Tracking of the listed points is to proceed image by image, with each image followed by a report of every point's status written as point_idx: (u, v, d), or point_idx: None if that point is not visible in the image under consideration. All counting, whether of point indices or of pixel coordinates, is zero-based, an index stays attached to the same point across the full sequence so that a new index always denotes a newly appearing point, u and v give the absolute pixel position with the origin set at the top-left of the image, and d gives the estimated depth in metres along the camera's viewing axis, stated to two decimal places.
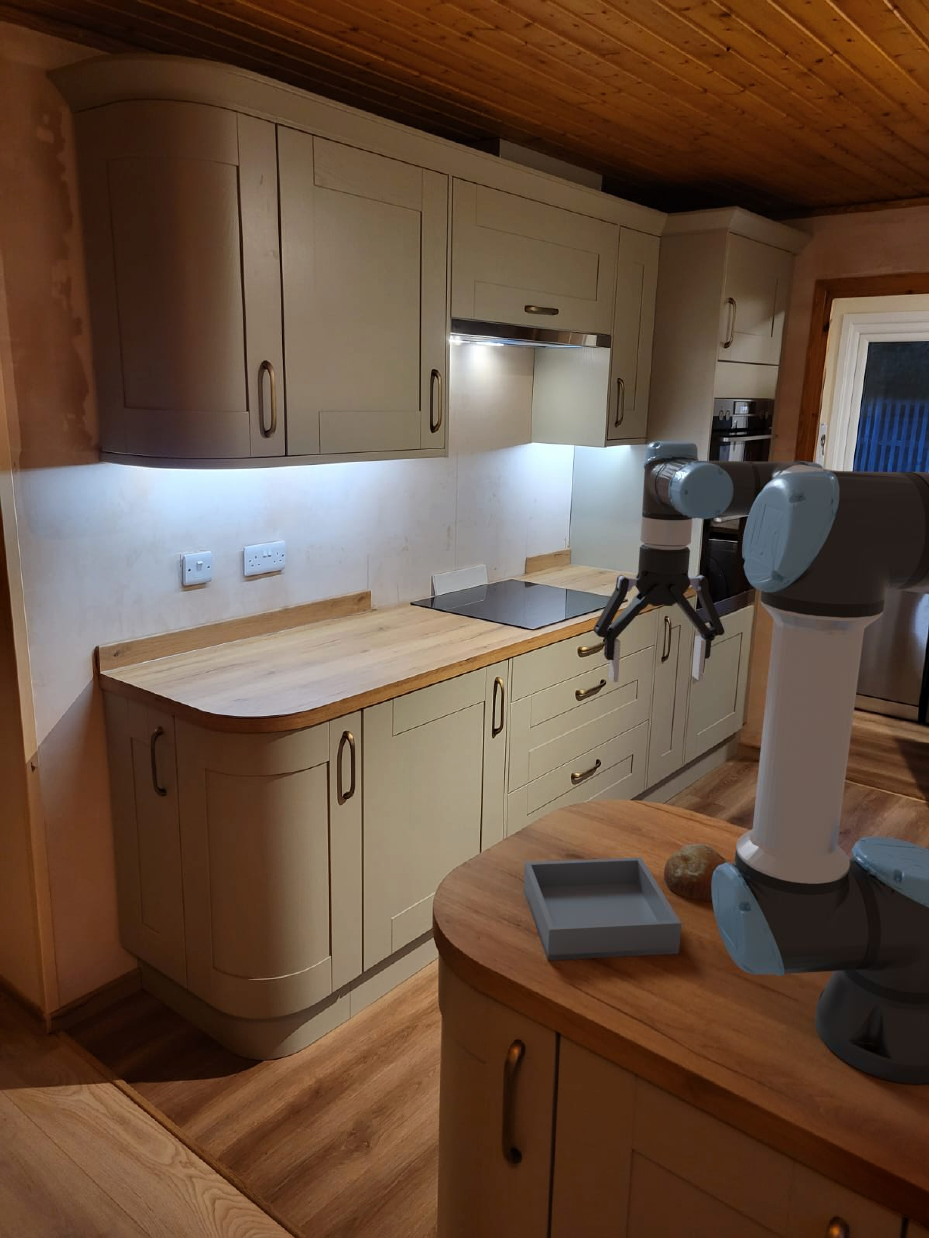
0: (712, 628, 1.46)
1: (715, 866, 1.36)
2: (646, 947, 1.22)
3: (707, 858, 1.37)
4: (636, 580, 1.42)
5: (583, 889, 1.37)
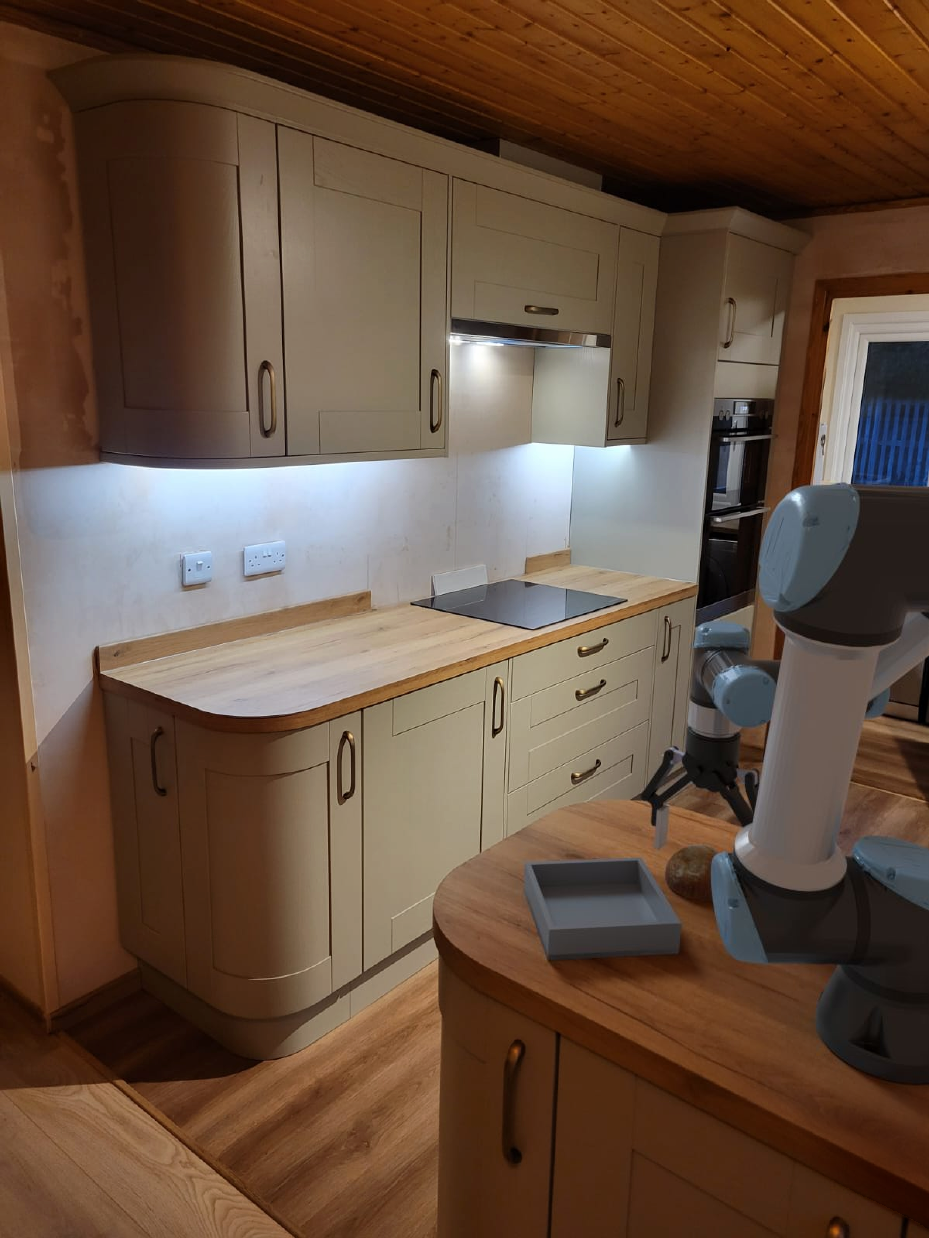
0: None
1: None
2: (646, 947, 1.22)
3: (708, 858, 1.37)
4: (682, 756, 1.38)
5: (583, 889, 1.37)
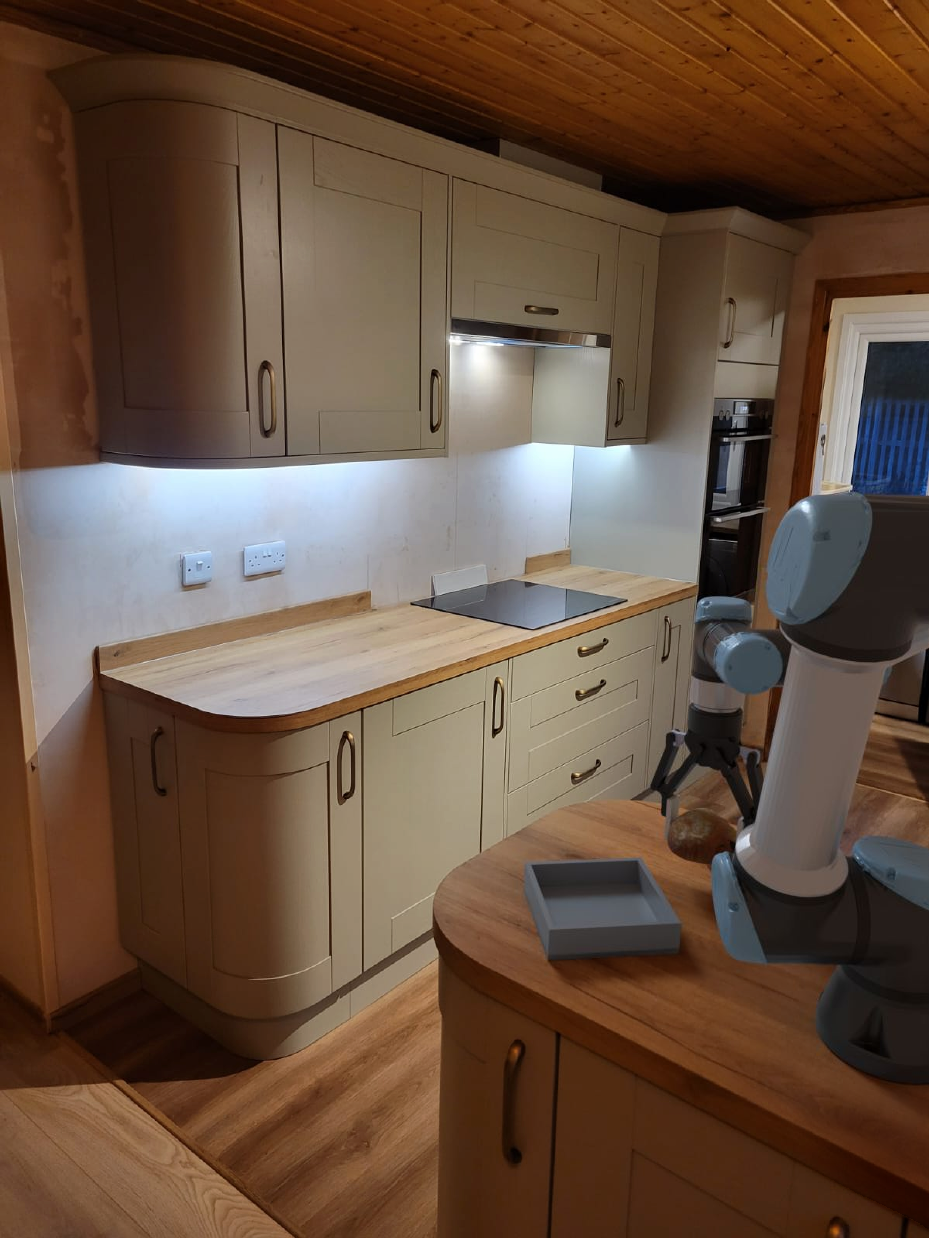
0: None
1: (719, 828, 1.34)
2: (646, 947, 1.22)
3: (711, 820, 1.35)
4: (683, 735, 1.37)
5: (583, 889, 1.37)
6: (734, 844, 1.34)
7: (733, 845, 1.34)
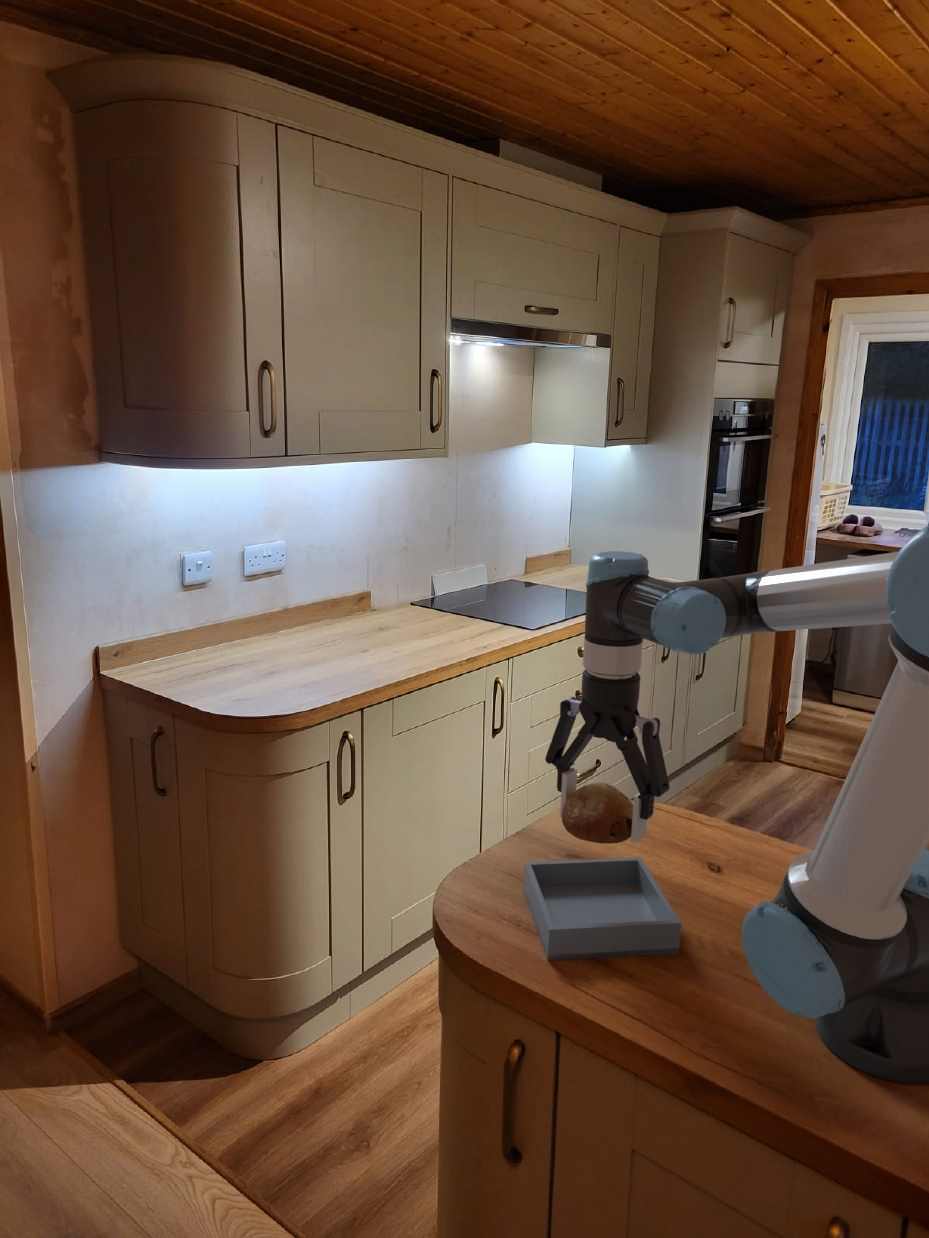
0: None
1: (615, 805, 1.23)
2: (646, 947, 1.22)
3: (607, 796, 1.24)
4: (579, 704, 1.25)
5: (583, 889, 1.37)
6: (631, 822, 1.23)
7: (630, 823, 1.23)
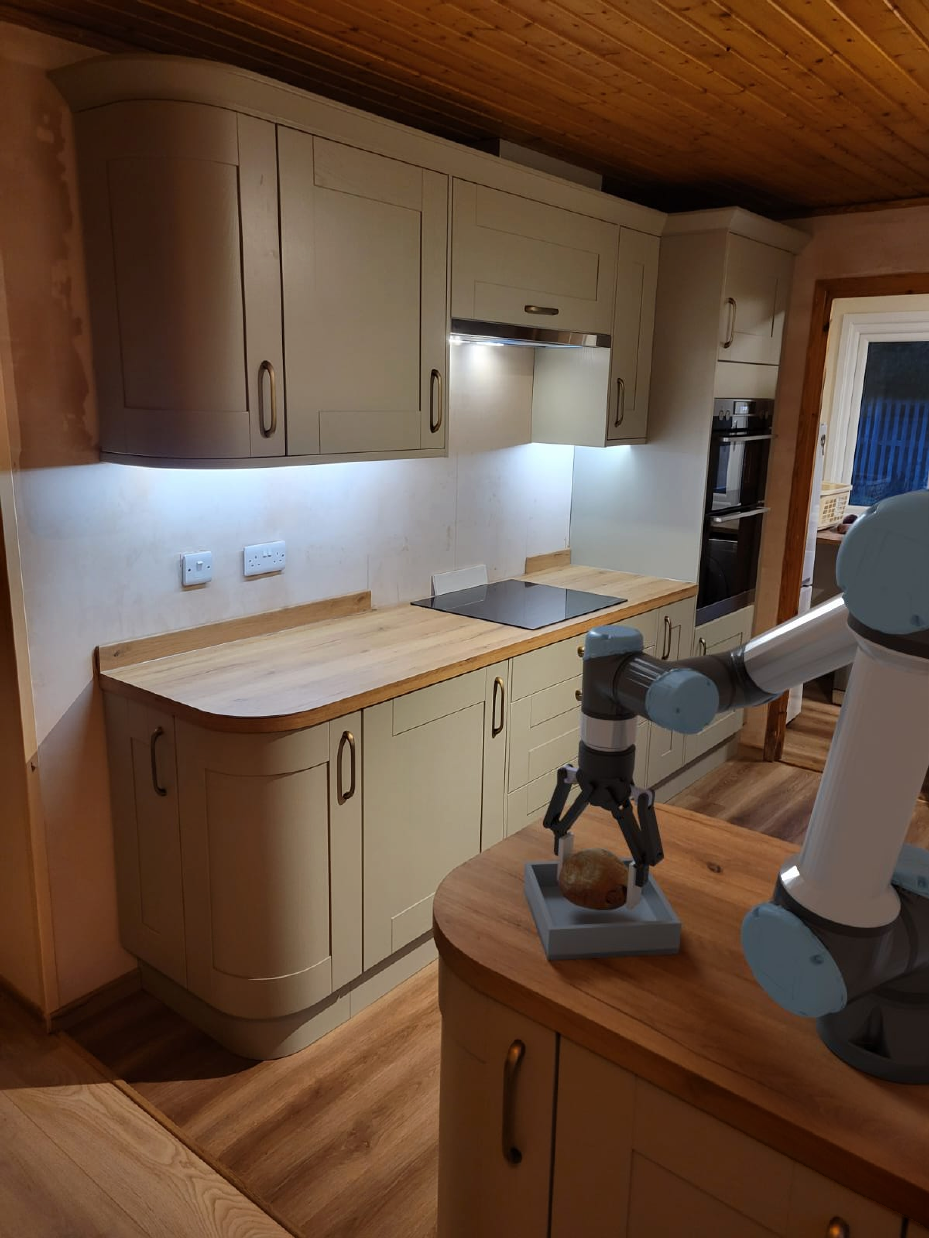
0: None
1: (611, 872, 1.26)
2: (646, 947, 1.22)
3: (602, 863, 1.26)
4: (575, 772, 1.28)
5: None
6: (626, 889, 1.25)
7: (625, 890, 1.25)
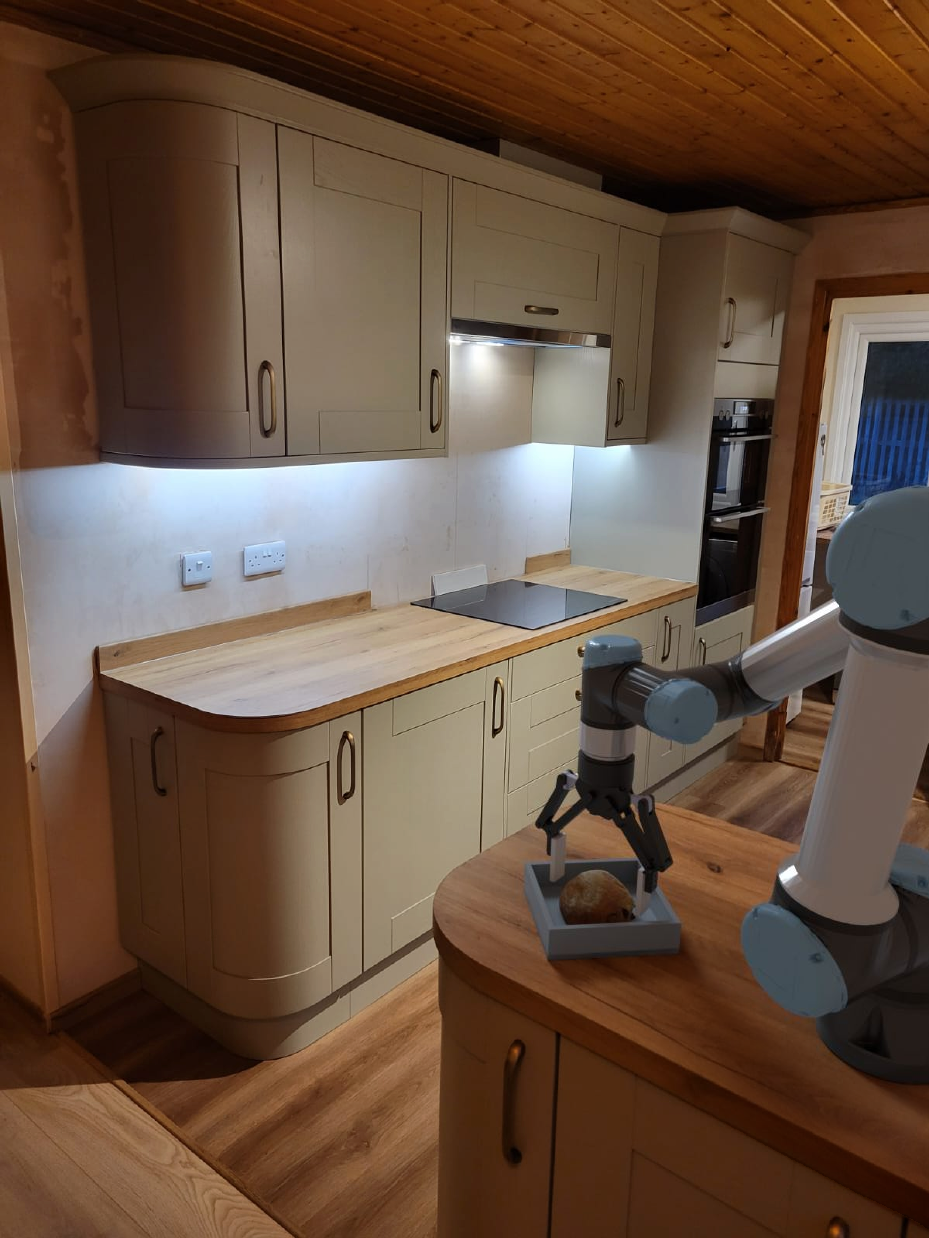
0: None
1: (611, 895, 1.26)
2: (646, 947, 1.22)
3: (603, 886, 1.27)
4: (575, 780, 1.28)
5: None
6: (627, 912, 1.26)
7: (626, 913, 1.26)
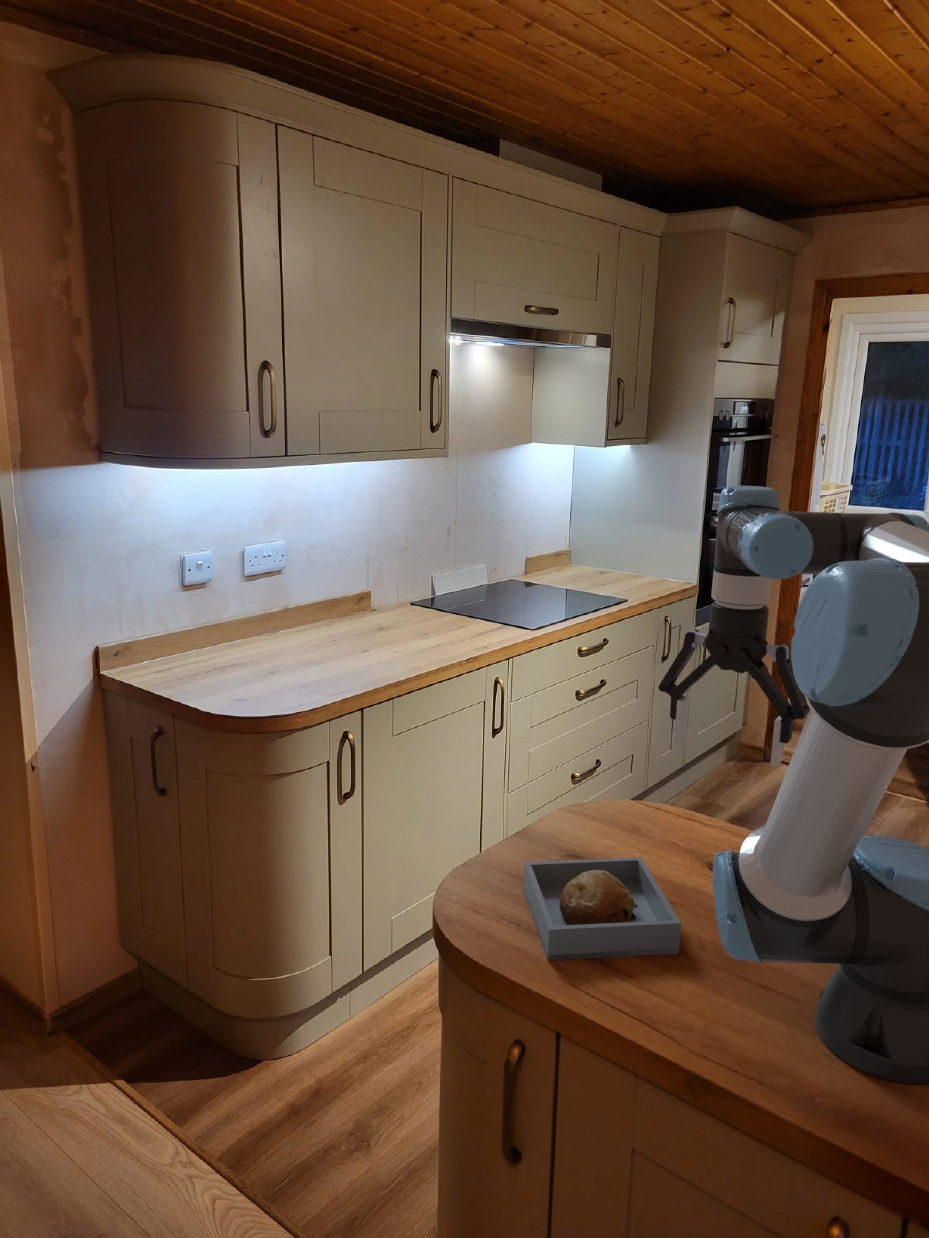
0: None
1: (612, 895, 1.26)
2: (646, 947, 1.22)
3: (603, 886, 1.27)
4: (704, 637, 1.28)
5: None
6: (627, 912, 1.26)
7: (626, 913, 1.26)
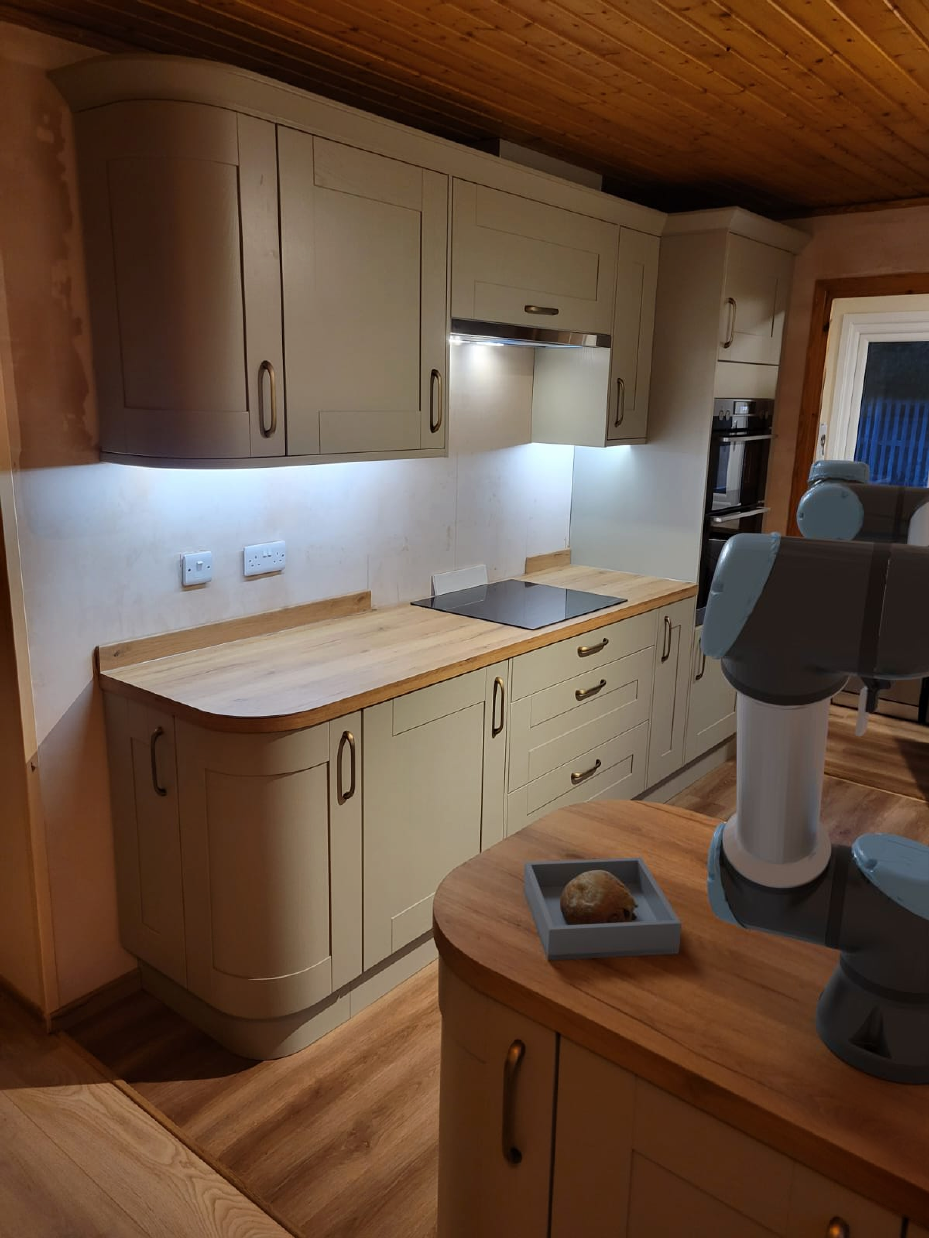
0: None
1: (612, 895, 1.26)
2: (646, 947, 1.22)
3: (604, 886, 1.27)
4: None
5: None
6: (628, 912, 1.26)
7: (627, 913, 1.26)
